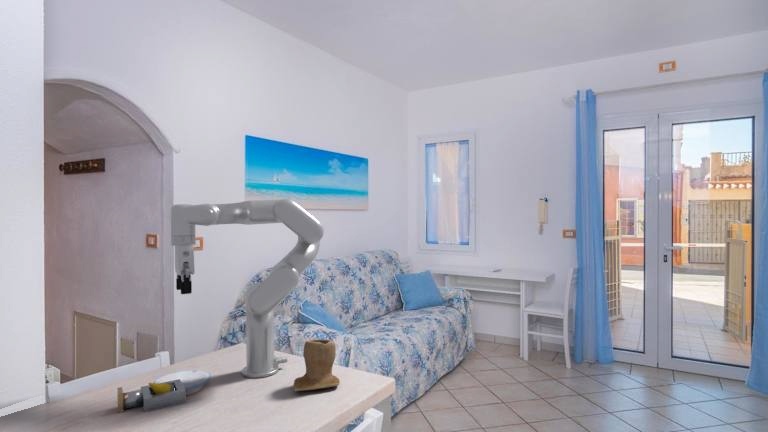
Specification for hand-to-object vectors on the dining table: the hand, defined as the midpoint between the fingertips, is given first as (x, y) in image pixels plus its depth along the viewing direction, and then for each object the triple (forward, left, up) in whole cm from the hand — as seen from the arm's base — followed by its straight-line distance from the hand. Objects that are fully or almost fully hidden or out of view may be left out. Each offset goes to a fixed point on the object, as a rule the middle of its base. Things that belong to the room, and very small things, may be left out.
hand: (183, 291), depth 147 cm
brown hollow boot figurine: (-35, +29, -31) cm, 55 cm away
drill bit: (+8, +14, -30) cm, 34 cm away
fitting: (+11, +13, -30) cm, 35 cm away
